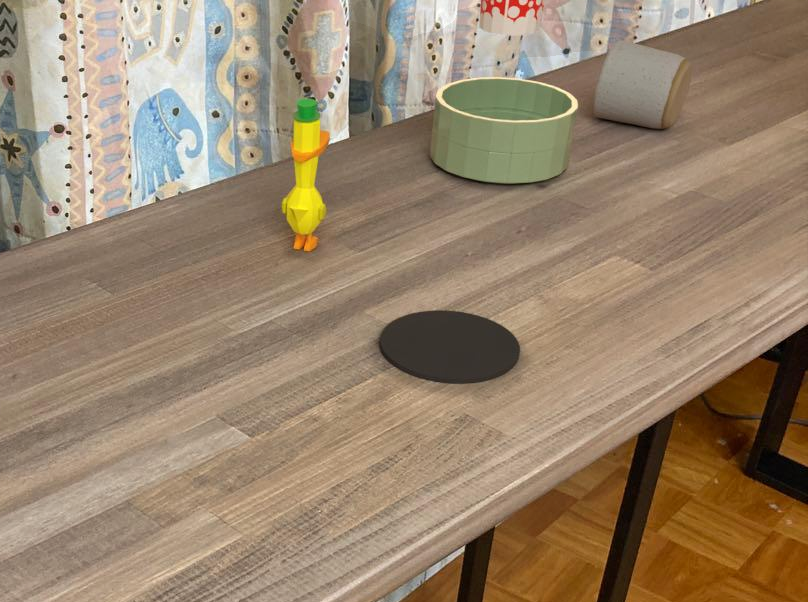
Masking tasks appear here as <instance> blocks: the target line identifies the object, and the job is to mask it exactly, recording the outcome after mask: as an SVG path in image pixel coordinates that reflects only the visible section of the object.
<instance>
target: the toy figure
mask: <svg viewBox="0 0 808 602" xmlns="http://www.w3.org/2000/svg"><path fill="white" fill-rule="evenodd" d="M296 106H297V110H296V111H295V112H294V113H293V114H292V118H293V138H292V141H290V147H291V156H292V158H293V163H294V174H295V177H294V178H295V185H294V186H293V187H292V189H291V190H290V192H289V193H288V194H287V195H286V197H284V198H283V199H282V202H281V212H282V214H284V215H286V221H287V223H288V224H289V226H290V228H291V230H293V232H294V233H295V237H294V244H293V249H294V250H301V249H302V248H303V251H304V252H311V251H313V250H314V249H315V248H317V246H318V242H319V238H318V237H317V236H316V235H313V232H315V230H316V229H317V227H318V226H319V224H320V223H321V222H322V221H324V220H325V218H326V215H327V207H326V206H327V205H326V203H323V197H322V195H321V194H320V192H319V190H318V189H317V187H316V186H315V182H316V176H317V170H318V162H319V157H320V156H321V155H322V154H323V153H324V152H325V151H326V149H327V147H328V146H329V144H330V138H331V132H330V131H328V130H323V129H321V113H320V112H319V111H318V110H317V100H315V99H313V98H300V99H298V100H297V101H296Z"/></svg>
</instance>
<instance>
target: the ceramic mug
mask: <svg viewBox="0 0 808 602" xmlns="http://www.w3.org/2000/svg"><path fill="white" fill-rule="evenodd" d="M692 76H693V66H692V62H691V61H690V60H689V59H688V58H686V57H684V56H682V55H680V54H678V53H674V52H670V51H666V50H661V49H657V48H654V47H650V46H647V45H642V44H639V43H635V42H631V41H627V40H624V39H619V40H616V41H615V42H614V43H613V44H612V46H611V47H610V49H609V50H608V52H607V54H606V55H605V58H604V62H603V63H602V66H601V68H600V71H599V75H598V78H597V81H596V82H597V83H596V87H595V91H594V96H593V104H592V111H593V115H594V116H595V117H596V118H598V119H602V120H609V121H613V122H618V123H623V124H630V125H634V126H639V127H643V128H649V129H654V130H655V129H657V130H658V129H659V130H663V129H668V128H670V127H671V126H673V125H674V123H675V122H676V121H677V119H678V118H679V115H680V113H681V111H682V109H683V106H684V104H685V101H686V98H687V95H688V92H689V89H690V86H691V82H692V81H691V80H692Z"/></svg>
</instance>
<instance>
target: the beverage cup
mask: <svg viewBox="0 0 808 602" xmlns="http://www.w3.org/2000/svg"><path fill="white" fill-rule="evenodd" d="M545 2H546V0H480V5H479V6H480V7H479V8H480V9H479V24H478V27H479V29H481V30H482V31H484V32H487V33H490V34H494V35H500V36H513V37H514V36H515V37H517V36H527V35H532V34H533V35H534V34H535V33H537V32H539V31H540V26H541V22H542V16H543V12H544V7H545Z"/></svg>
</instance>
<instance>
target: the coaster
mask: <svg viewBox="0 0 808 602" xmlns="http://www.w3.org/2000/svg"><path fill="white" fill-rule="evenodd" d="M379 349H380V352H381V355H383V357H384V358H385V359H386V361H388V363H390V364H391V365H392V366H394V367H395V368H396V369H398V370H400V371H402V372H405V373H406V374H408V375H411V376H413V377H416V378H420V379H423V380H426V381H431V382H432V381H433V382H437V383H443V384H444V383H445V384H475V383H481V382H486V381H490V380H495V379H497V378H499V377H501V376H503V375H505V374H507V373H508V372H510V371H511V370H513V368H514V367H515V366H516V365H517V364H518V361H519V359H520V354H521V346H520V343H519V341H518V339H517V337H516V336H515V335H514V334H513V332H511V331H510V330H509V329H508V328H506V327H505V326H503V325H502V324H500V323H499V322H496V321H495V320H492V319H489V318H487V317H484V316H481V315H477V314H475V313H468V312H464V311H457V310H443V309H442V310H440V309H439V310H437V309H435V310H434V309H433V310H424V311H418V312H417V311H416V312H412V313H408V314H405V315H402V316H399V317H398V318H396V319H394V320H392V321H390V322H389V323H388V324H387V325H385V326H384V328H383V329H382V330H381V333H380V336H379Z"/></svg>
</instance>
